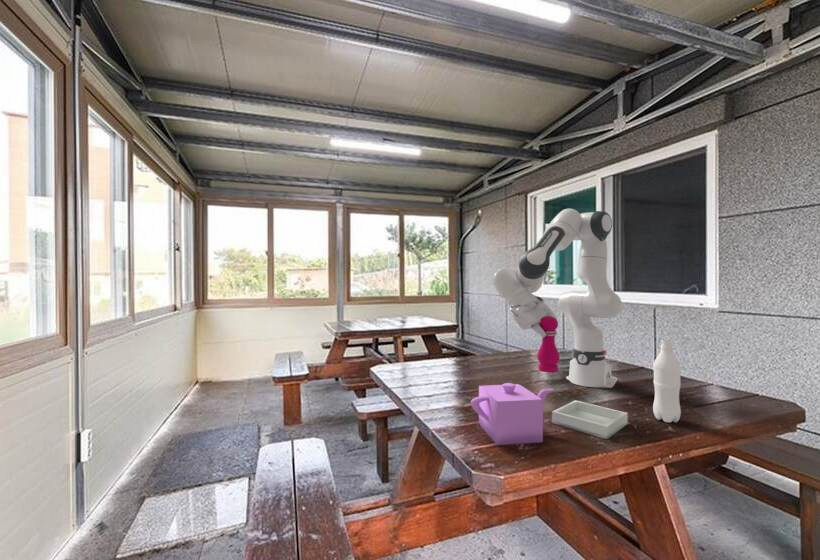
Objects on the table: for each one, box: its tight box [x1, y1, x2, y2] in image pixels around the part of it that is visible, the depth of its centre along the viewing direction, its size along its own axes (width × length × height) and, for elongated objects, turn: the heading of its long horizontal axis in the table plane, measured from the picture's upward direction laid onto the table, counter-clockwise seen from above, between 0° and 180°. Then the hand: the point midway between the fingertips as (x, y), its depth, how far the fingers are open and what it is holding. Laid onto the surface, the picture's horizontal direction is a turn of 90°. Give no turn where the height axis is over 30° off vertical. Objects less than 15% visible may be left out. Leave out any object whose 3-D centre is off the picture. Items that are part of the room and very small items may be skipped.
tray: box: [551, 399, 628, 440], centre depth 115 cm, size 16×16×4 cm
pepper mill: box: [536, 312, 561, 374], centre depth 128 cm, size 7×7×20 cm
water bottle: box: [652, 339, 682, 424], centre depth 118 cm, size 7×7×25 cm
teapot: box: [470, 382, 554, 446], centre depth 109 cm, size 15×25×14 cm, turn 98°
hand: (550, 335), depth 128 cm, fingers closed on pepper mill, 5 cm apart
